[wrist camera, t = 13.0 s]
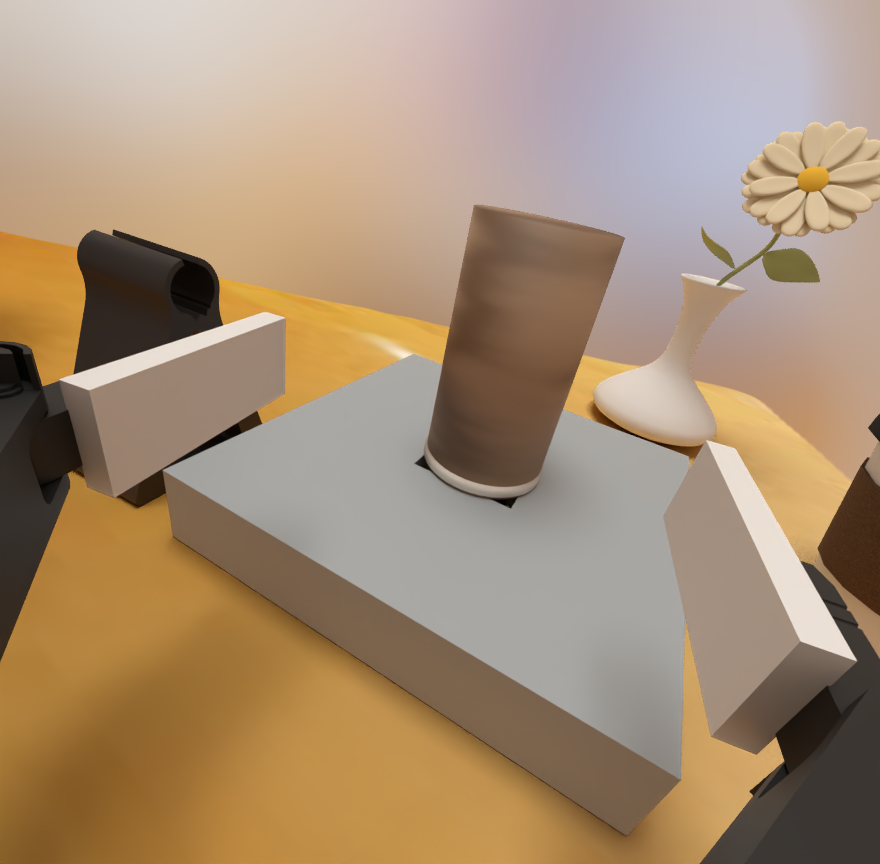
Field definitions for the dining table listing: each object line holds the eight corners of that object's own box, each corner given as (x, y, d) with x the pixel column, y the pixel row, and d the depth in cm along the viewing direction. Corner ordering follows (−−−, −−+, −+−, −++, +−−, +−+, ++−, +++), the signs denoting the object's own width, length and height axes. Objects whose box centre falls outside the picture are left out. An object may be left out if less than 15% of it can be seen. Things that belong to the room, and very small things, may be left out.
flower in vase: (564, 408, 44) (678, 94, 31) (624, 391, 51) (737, 130, 38) (693, 483, 36) (915, 101, 23) (743, 451, 43) (935, 144, 30)
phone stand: (136, 509, 23) (86, 267, 17) (61, 464, 25) (-9, 231, 19) (266, 438, 30) (263, 253, 24) (201, 408, 32) (184, 228, 26)
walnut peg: (399, 481, 28) (447, 197, 20) (490, 472, 31) (564, 219, 23) (438, 559, 23) (523, 222, 15) (543, 541, 26) (662, 246, 18)
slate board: (173, 536, 22) (162, 470, 20) (407, 396, 40) (413, 353, 38) (626, 835, 15) (680, 780, 13) (663, 501, 32) (689, 456, 30)
